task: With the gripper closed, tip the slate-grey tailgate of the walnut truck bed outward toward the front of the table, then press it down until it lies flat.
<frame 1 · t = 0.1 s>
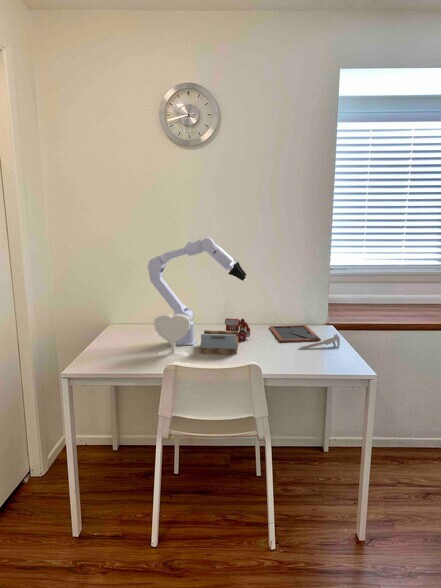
hand: (244, 277, 189), 32 cm above the table, tool tilted 50°, fingers open, 7 cm apart
tailgate: (218, 341, 181), point 6 cm above the table, hinge at 0.0°
truck bed: (220, 349, 189), on the table
heart sculpture: (173, 354, 184), on the table
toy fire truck: (237, 339, 204), on the table
picture frame: (293, 335, 211), on the table
caliper: (318, 348, 191), on the table
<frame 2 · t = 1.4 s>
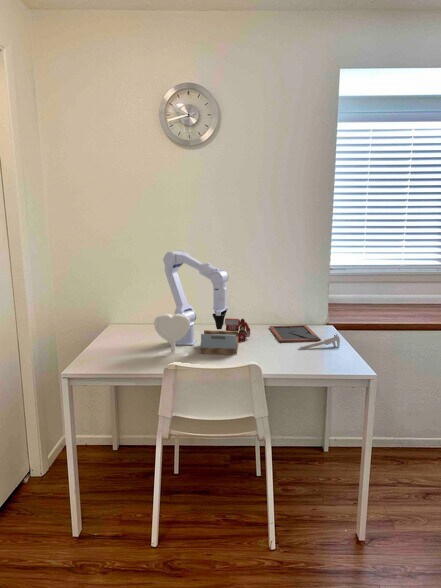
hand: (219, 327, 187), 10 cm above the table, tool pointing down, fingers open, 5 cm apart
nothing on the table moved.
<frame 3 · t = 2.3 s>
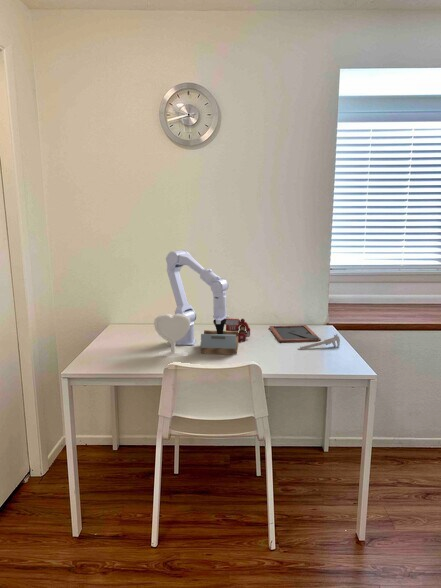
hand: (220, 335, 188), 7 cm above the table, tool pointing down, fingers closed
nothing on the table moved.
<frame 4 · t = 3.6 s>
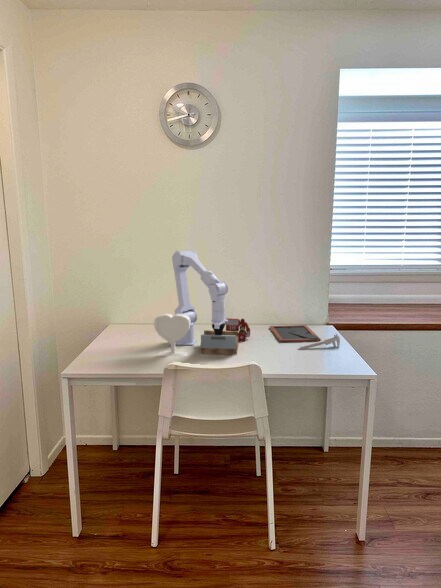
hand: (218, 340, 182), 6 cm above the table, tool pointing down, fingers closed, pressing on tailgate
tailgate: (218, 342, 181), point 6 cm above the table, hinge at 5.9°, touching gripper
everything else where it was.
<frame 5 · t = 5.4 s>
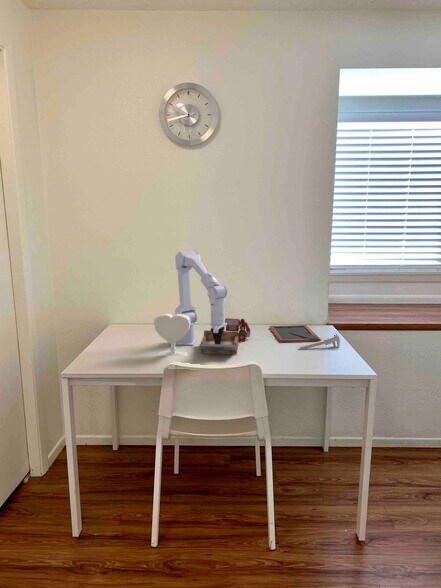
hand: (217, 344, 178), 6 cm above the table, tool pointing down, fingers closed
tailgate: (217, 347, 180), point 4 cm above the table, hinge at 56.2°, touching gripper
everything else where it was.
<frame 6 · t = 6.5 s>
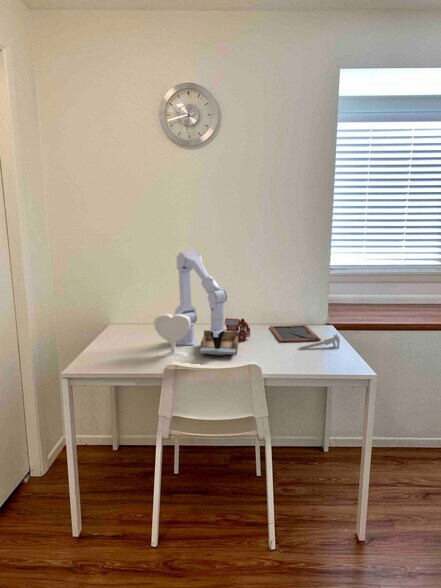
hand: (217, 348, 179), 4 cm above the table, tool pointing down, fingers closed
tailgate: (217, 351, 180), point 2 cm above the table, hinge at 85.9°
everything else where it was.
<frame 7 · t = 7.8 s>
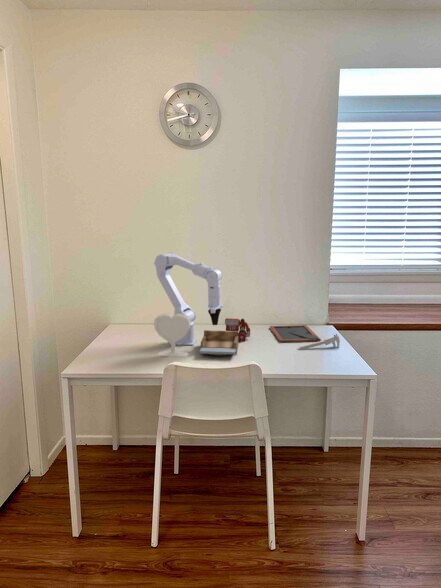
hand: (215, 324, 191), 10 cm above the table, tool pointing down, fingers closed
nothing on the table moved.
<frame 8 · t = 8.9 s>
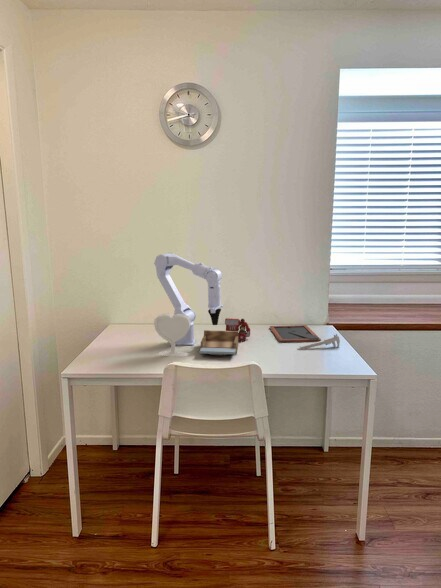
hand: (215, 324, 191), 10 cm above the table, tool pointing down, fingers closed
nothing on the table moved.
at the end: tailgate at +86° (first picture: +0°); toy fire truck moved 0.3 cm from its start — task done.
